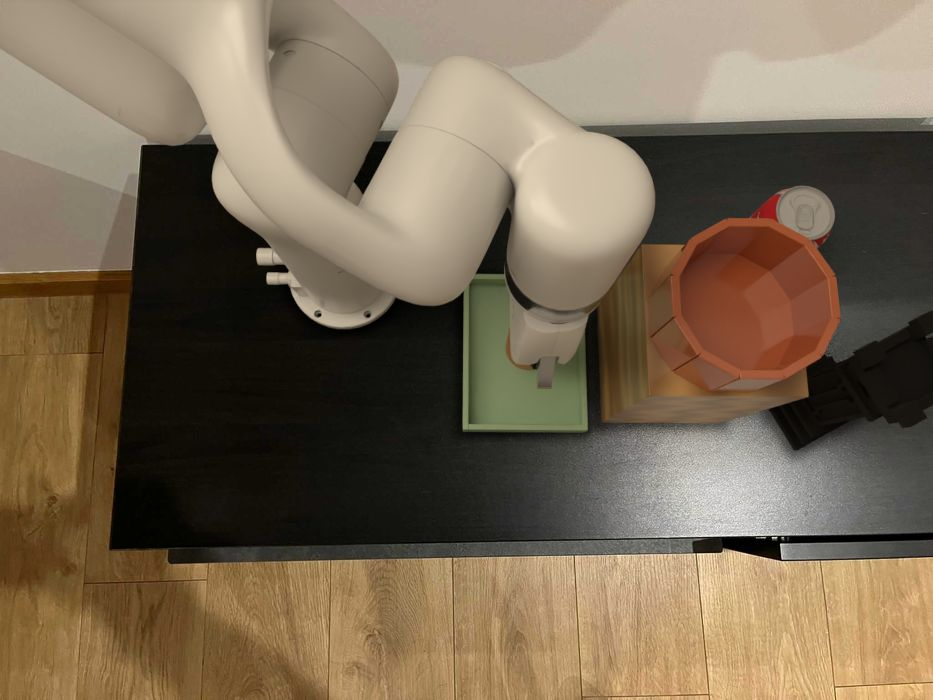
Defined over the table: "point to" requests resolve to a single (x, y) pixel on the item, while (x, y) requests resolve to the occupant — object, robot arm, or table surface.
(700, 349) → the pot
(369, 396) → the table surface
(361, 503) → the table surface
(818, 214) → the soda can
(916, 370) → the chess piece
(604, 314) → the stand
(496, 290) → the tray
